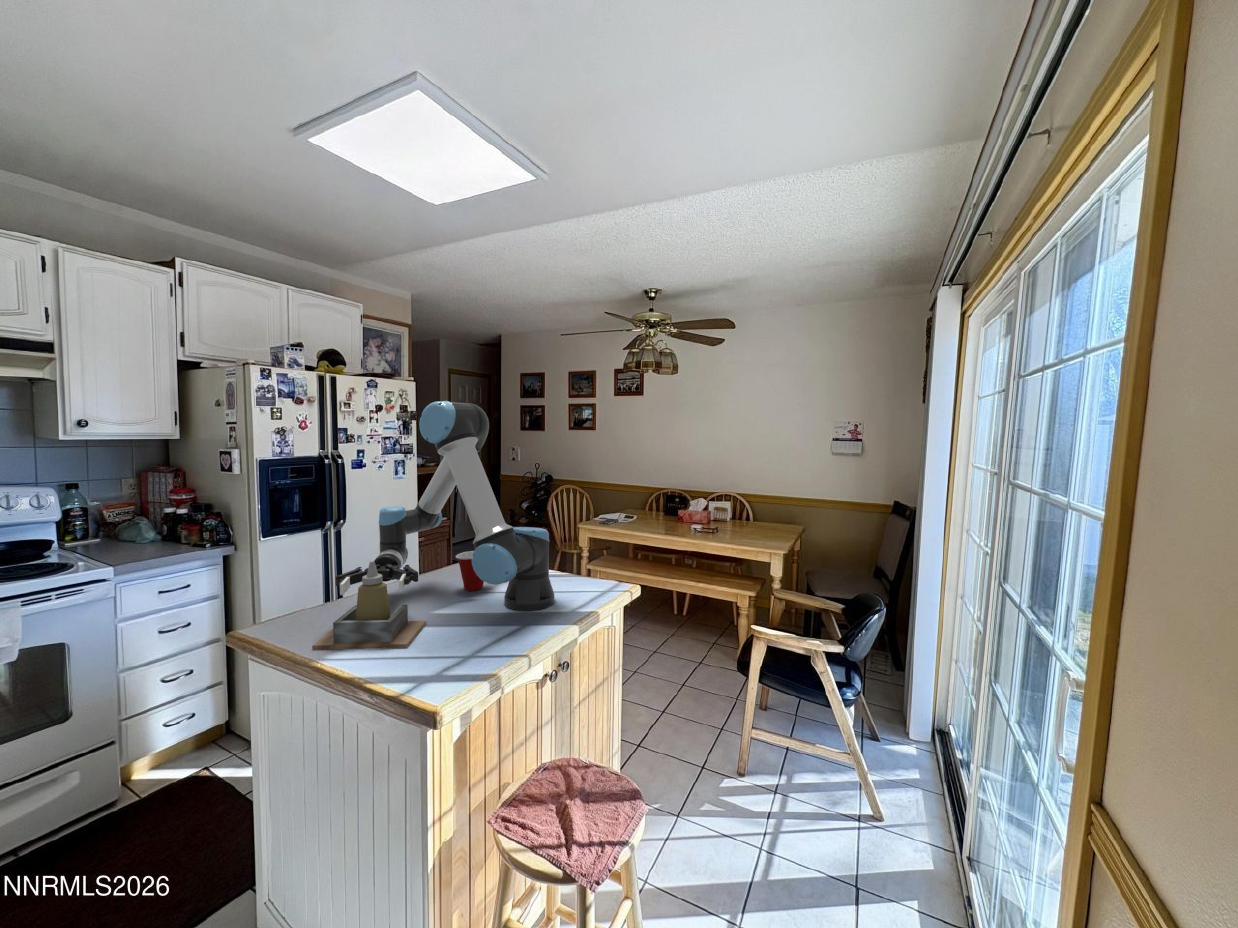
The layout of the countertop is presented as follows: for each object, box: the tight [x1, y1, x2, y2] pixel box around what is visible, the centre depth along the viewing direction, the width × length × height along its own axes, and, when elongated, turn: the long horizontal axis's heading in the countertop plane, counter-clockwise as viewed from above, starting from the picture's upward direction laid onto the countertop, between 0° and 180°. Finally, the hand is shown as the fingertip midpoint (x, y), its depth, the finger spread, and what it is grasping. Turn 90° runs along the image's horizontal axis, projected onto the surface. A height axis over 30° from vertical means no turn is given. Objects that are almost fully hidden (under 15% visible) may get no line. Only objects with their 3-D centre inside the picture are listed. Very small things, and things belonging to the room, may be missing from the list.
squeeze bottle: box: [355, 560, 391, 621], centre depth 129 cm, size 8×8×18 cm
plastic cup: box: [455, 550, 485, 592], centre depth 168 cm, size 11×11×12 cm
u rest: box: [311, 604, 427, 650], centre depth 129 cm, size 22×15×6 cm
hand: (371, 587), depth 128 cm, fingers open, 13 cm apart
